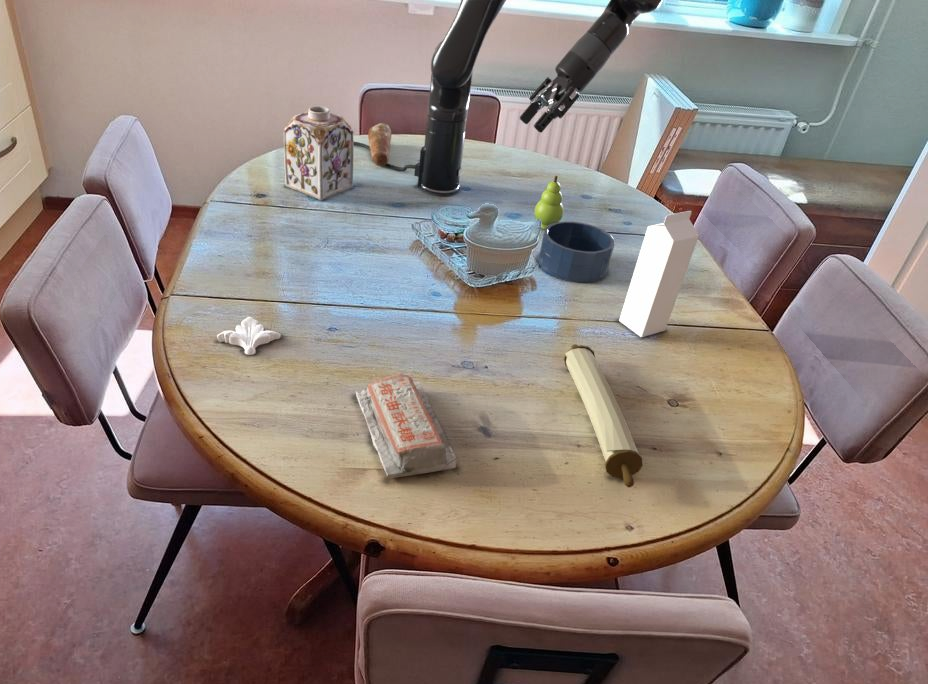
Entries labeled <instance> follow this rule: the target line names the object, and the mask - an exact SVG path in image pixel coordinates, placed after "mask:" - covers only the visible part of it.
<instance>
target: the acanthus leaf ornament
mask: <svg viewBox="0 0 928 684" xmlns="http://www.w3.org/2000/svg"><path fill="white" fill-rule="evenodd" d="M258 323H259V321H258V320H256V319H254V317H252V316H247V317H246V318H244V319H243V320H242V321H241V323H240V324H237V325H236V326H235V330H224V331H222V332H220V333H218V334H217V336H216V338H217V340H218V342H219V343H223V342H224V343H226V344H229V345H233V346H239V347H241V348H243V349H244V354H246V355H248V356H253V355H255V354H256V352H257V351H256V348H257V347H258V346H260V345H265V344H269V343H270V342H272V341H274V340H279V339H281V333H279V332H277V331H273V330H264V326H263V324H260V323H259V324H258Z"/></svg>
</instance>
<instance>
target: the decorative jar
mask: <svg viewBox="0 0 928 684" xmlns="http://www.w3.org/2000/svg"><path fill="white" fill-rule="evenodd" d="M330 111H331V110H330V109H329V108H328V107H326V106H321V105H312V106H310V107H309V108H308V109H307V111H304V112H301V113H298V114H295V115H294V116H293V117H292V118H291V119H290V120H289V122H288V123H287V124H286V125H285V127H284V128H283V157H284V158H283V159H284V160H283V162H284V165H283V166H284V181H285V182H284V183H285V187H287V188H289V189H292V190H294V191H296V192H300V193H302V194H304V195H307V196H308V197H312V198H314V199H316V200H318V201H323V200H327V199H328V198H330V197H333V196H335V195H338V194H340V193H343V192H344V191H347V190H349V189H351V188H353V185H354V162H355V161H354V149H355V148H354V146H355V145H354V142H355V141H354V133H355V132H354V130H353V129H352V126H351V125H350V124H349V122H347V121H346V119H345V118H344V116H342V115H339V114H336V113H332V112H330Z"/></svg>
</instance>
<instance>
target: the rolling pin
mask: <svg viewBox="0 0 928 684" xmlns="http://www.w3.org/2000/svg"><path fill="white" fill-rule="evenodd" d="M564 354H565V355H564V357H563V361H564V366H565V367H567V370H568V371H569V374H570V376H571V378H572V380H573V382H574V384H575V386H576V388H577V391H578V394H579V397H580V398H581V401H582V403H583V406H584V408H585V410H586V412H587V415H588V417H589V420H590V422H591V425H592V428H593V430H594V433H595V436H596V438H597V441H598V445H599V447H600V450H601V452H602V455H603V458H604V461H605V462H604V463H605V464H604V465H605V471H606V473H607V474H608V475H610V476H611V477H612V478H617V479H623V484H624V486H625V487H627V488H632V487H633V486H634V484H635V481H634V477H633V476H634V475H636V474H637V473H639V471H640V470H641V469H642V467H643V466H644V464H643V457H642V455H641V454H640V453H639V451H638V449H637V446H636V444H635V441H634V439H633V436H632V433H631V431H630V429H629V426H628V424H627V422H626V420H625V417H624V414H623V412H622V410H621V408H620V406H619V404H618V401H617V399H616V397H615V395H614V392H613V391H612V389H611V386H610V385H609V383H608V381H607V378H606V376H605V374H604V372H603V370H602V369H601V367H600V365H599V363H598V361H597V360H596V354H595V351H594V350H593V349H592V348H591V347H589V346H588V345H582V344H581V345H578V344H575V343H574V344H572V345H571V348H569V350H567V351H566V352H564Z"/></svg>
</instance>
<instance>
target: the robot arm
mask: <svg viewBox="0 0 928 684" xmlns="http://www.w3.org/2000/svg"><path fill="white" fill-rule="evenodd" d="M506 1H507V0H460V3H459V6H458V10H457V12H456V15H455V17H454V18H453V21H452V22H451V25H450V27H449V29H448V31H447V32H446V34H445V36H444V38H443V39H442V40H441V41H440V42H439V43H438V44H437V45H436V46H435V48H434V50H433V54H432V56H431V59H430V71H431V72H430V73H431V74H430V86H429V93H428V101H427V110H426V124H425V135H424V145H423V146H422V147H420V153H419V162H417V163H415V164H405V165H404V166H397V165H394V164H391V163H387V164H386V165H385V166H384V167H385V168H387V169H391V170H395V171H399V172H405V171H407V170H409V169H411V170H414V172H413V173H414V174H413V176H414V177H416V178H417V187H418V188H421V189H422V190H423V191H424V192H426V193H429V194H432V195H440V196H449V195H454V194H457V192H459V189H460V178H461V174H462V172H463V167H462V162H463V154H464V146H465V137H466V129H467V120H468V114H469V106H470V99H471V90H472V89H471V88H472V82H473V75H474V69H475V68H474V67H475V64H476V62H477V59H478V57H479V53H480V52H481V51H480V50H481V48H482V46H483V43H484V40H485V38H486V36H487V34H488V32H489V31H490V28H491V26H492V25H493V23H494V22H495V20H496V18H497V17H498V15H499V13H500V12H501V10H502V8H503V7H504V5H505V3H506ZM662 2H663V0H609V2H608V3H607V5H606V7H605V8H604V10H603V12H602V14H601V15H599V16H598V18H597V19H596V20H595V21H594V22H593V24H592V25H591V26H590V27H589V29H588V30H586V32H585V33H584V34H583V35H582V36H581V37H580V38H578V39H577V40H576V42H575V43H574V44H573V45H572V47H571V48H570V49H569V50H568V51H567V53H566V54H565V55H564V56H563V58H562V59H560V61H559V62H558V63H557V65H556V66H555V69H554V70H555V73H556V74H557V76H556V77H555V78H554V79H552V78H551V77H549V76H548V77H546V78H545V79H544V81H542V83H541V84H540V85H539V86H538V87H537V88H536V89H535V91H533V93H532V94H531V96H529V101H530V102H529V103H530V104H529V105H528V107H526V109H525V110H524V111H523V112H522V114H520V116H519V120H520V121H521V122H522V123H523V124H525V125H528V124H529V123H530V122H531V121H532V119H534V117H535V116H536V115H537V113H538V112H539V111H540V110H541V109H543V108H545V107H547V108H546V111H544V112H543V113H542V114H541V116H540V117H539V118H538V119H537V121H536V122H535V123H534V124H533V128H534V129H535V130H536V131H537V132H538V133H543V132H544V131H545V130H546V128H547V127H548V126H549V125H550V124H551V122H553V120H556V119H557V118H558V119H562V118H563V117H564V116H565V114H567V113H568V111H569V110H570V109H571V107H572V106H573V105H574V104H575V102H576V101H578V99H579V98H580V97H581V95H580V93H582V92H583V91H584V90H585V89H586V88H587V86H588V85H589V84H590V83H591V82H592V80H593V79H594V78H595V77H596V76H597V75H598V74H599V73H600V71H601V70H602V69H603V68H604V67H605V65H606V64H607V62H608V61H609V59H610V58H611V57H612V55H613V54H614V53H615V52H616V50H618V49H619V48H620V46H621V45H622V44H623V42H624V41H625V40H626V38H627V37H628V34H629V29H630V27H631V25H632V24H633V23H634V22H635V20H636V19H637V18H638V17H639V16H640V15H642V14H649V13H651V12H654V11H655V10H656V9H658V8H659V7H660V6H661V4H662ZM354 146H357V147H360V148H364V149H366V150H367V151H369V154H370V157H371V158H372V156H371V150H370V145H369V144H366V143H363V142H358V141H354Z"/></svg>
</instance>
